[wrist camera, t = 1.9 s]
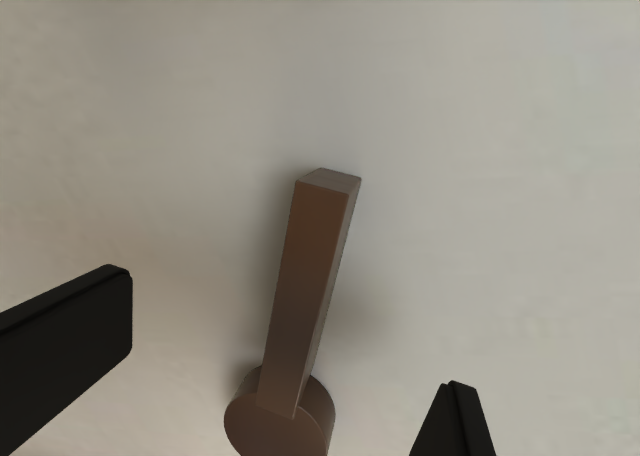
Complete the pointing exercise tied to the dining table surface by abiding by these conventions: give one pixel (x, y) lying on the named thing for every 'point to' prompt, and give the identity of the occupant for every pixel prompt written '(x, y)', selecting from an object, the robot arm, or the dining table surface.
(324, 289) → the wooden spoon
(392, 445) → the dining table surface
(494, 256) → the dining table surface
